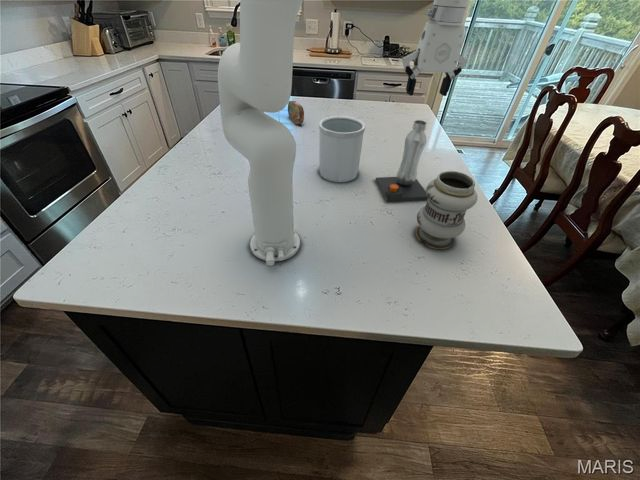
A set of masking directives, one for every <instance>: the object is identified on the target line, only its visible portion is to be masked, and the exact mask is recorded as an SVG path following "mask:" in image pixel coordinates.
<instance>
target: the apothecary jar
mask: <svg viewBox="0 0 640 480" xmlns="http://www.w3.org/2000/svg"><path fill="white" fill-rule="evenodd" d="M475 187H476V181H475V180H474V178H473V177H471V176H470V175H468V174H466V173H464V172H461V171H455V170H447V171H442V172H440V173H439V174H437V177H436V178H435V179H433V180H431V181H429V183H428V184H427V185H426V188H425V191H426V195H427V197H428V200H426V202H425V205H424V206H423V207H422V208H420V209H419V210H418V212H417V213H416V214H417V215H416V222H417V225H418V227H417V228H416V231H415V236H416V239H417V240H418V241H419V242H420V243H422V244H425V246H426V247H428V248H432V249H434V250H445V249H448V248H450V247H451V246H452V245H453V243H454V238H456V237H458V236H460V235H462V233H464V231H465V230H466V220H465V215H466V212H467V211H468V210H469V209H471V208H473V207H474V206H475V205H476V203H477V202H478V193H477V191H476V189H475Z"/></svg>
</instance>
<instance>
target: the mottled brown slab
mask: <svg viewBox="0 0 640 480" xmlns="http://www.w3.org/2000/svg"><path fill="white" fill-rule="evenodd" d="M287 114H288V117H289V119H290V121H292V122H293V123H294V124H295V125H296V126H297V125H302V124H303V123H304V122H305V121H304V120H305V110H304V107H303V106H302V105H301V104H300V103H299V102H297V100H289V102H288V104H287Z"/></svg>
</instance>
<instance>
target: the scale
mask: <svg viewBox="0 0 640 480" xmlns="http://www.w3.org/2000/svg"><path fill="white" fill-rule="evenodd" d="M396 177H397V176H381V177H380V176H379V177H375V180H374V181H375V183H376V184H377V187H378V189H379V192H380V193H381V194H382V196H383V198H384V200H385V202H386V203H393V202H394V203H395V202H417V201H418V202H419V201H427V200H428V197H427V195H426V189H425V188H424V187H423V185H422V184H421V183H420V182H419V180H418V179H417V178H416V180H415V182H414V183H413V184H411V185H402V184H400V183H399V182H398V181H397V179H396ZM391 184H396V185H398V191H397V192H391V191H389V189H390V185H391Z"/></svg>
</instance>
